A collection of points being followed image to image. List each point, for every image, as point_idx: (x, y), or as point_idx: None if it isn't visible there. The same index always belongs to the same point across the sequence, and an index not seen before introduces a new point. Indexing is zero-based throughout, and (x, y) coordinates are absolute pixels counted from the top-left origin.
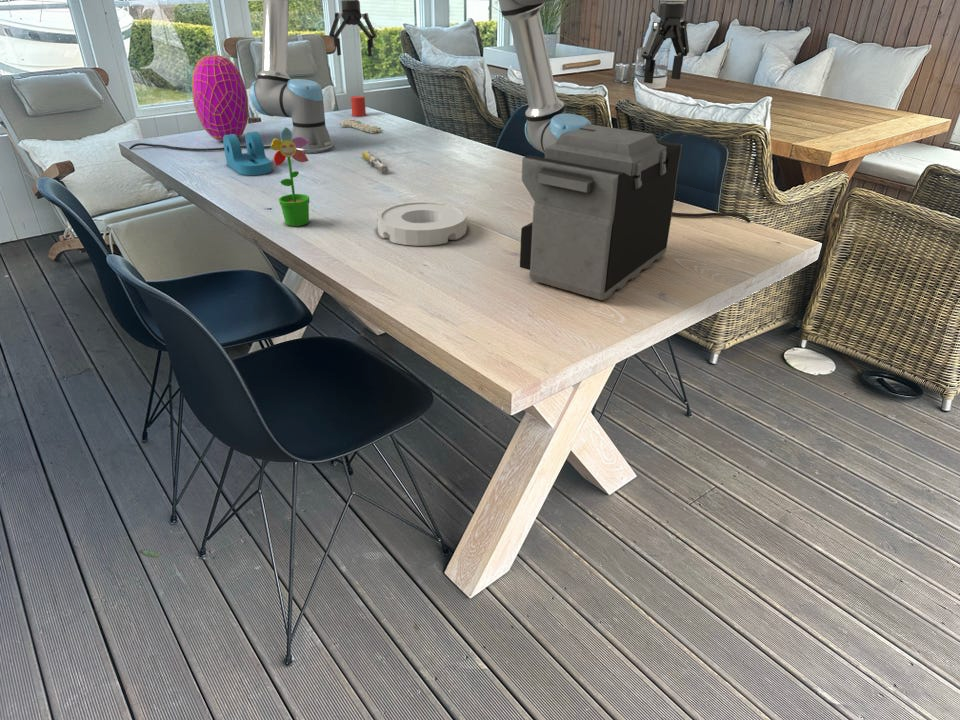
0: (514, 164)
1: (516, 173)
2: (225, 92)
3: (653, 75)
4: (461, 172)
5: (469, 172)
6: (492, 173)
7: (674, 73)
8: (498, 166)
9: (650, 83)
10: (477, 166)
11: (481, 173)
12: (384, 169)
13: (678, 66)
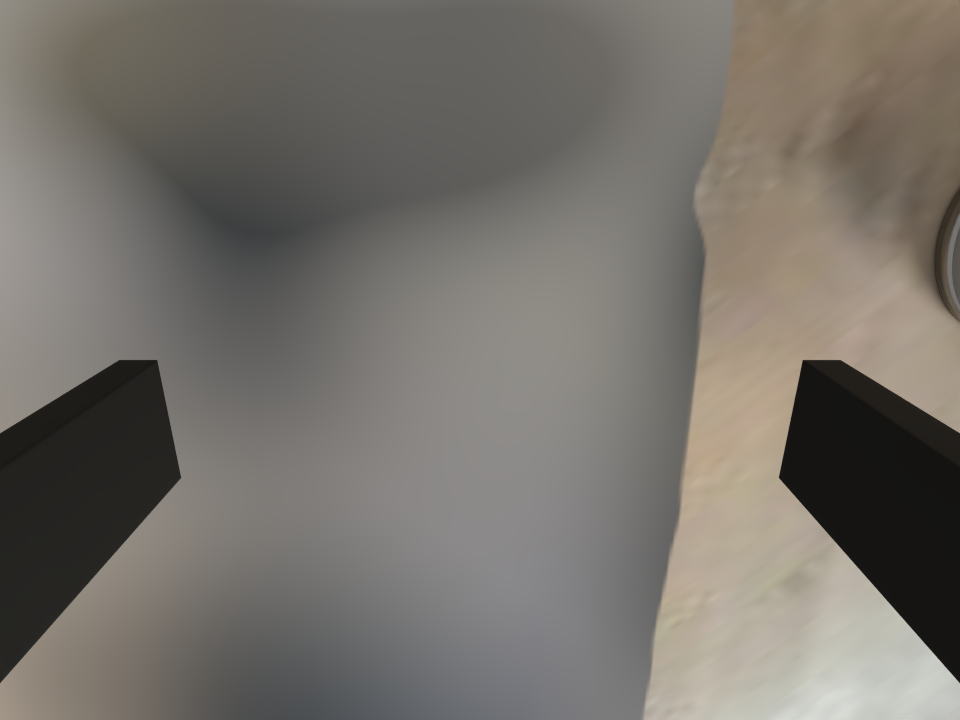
0: (734, 666)
1: (833, 588)
2: None
3: (873, 407)
4: (952, 693)
5: (935, 680)
6: (893, 633)
7: (131, 476)
8: (798, 678)
9: (840, 368)
10: (849, 713)
11: (918, 652)
12: None
13: (36, 489)
